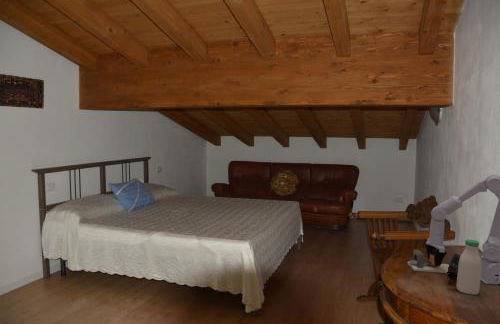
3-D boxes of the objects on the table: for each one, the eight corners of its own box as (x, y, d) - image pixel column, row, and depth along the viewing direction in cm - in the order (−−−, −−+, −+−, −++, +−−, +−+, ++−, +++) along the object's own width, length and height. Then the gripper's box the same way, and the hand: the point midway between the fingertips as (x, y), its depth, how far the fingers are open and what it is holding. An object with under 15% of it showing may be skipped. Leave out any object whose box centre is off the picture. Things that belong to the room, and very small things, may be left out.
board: (456, 273, 167) (456, 271, 167) (414, 270, 168) (414, 268, 168) (447, 266, 176) (447, 264, 176) (407, 263, 177) (407, 261, 177)
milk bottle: (482, 296, 144) (487, 244, 143) (460, 293, 146) (464, 242, 144) (474, 288, 152) (479, 239, 150) (453, 285, 153) (458, 237, 152)
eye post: (423, 268, 169) (424, 254, 168) (417, 267, 169) (418, 254, 169) (417, 262, 176) (418, 249, 175) (412, 262, 176) (413, 249, 175)
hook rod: (436, 264, 174) (437, 253, 173) (439, 267, 170) (440, 256, 169) (408, 262, 175) (409, 252, 174) (411, 265, 171) (412, 254, 170)
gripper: (421, 228, 178) (419, 256, 179) (433, 237, 164) (431, 268, 165) (437, 229, 177) (434, 257, 179) (450, 238, 163) (448, 269, 164)
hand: (434, 262), depth 172 cm, fingers open, 7 cm apart
